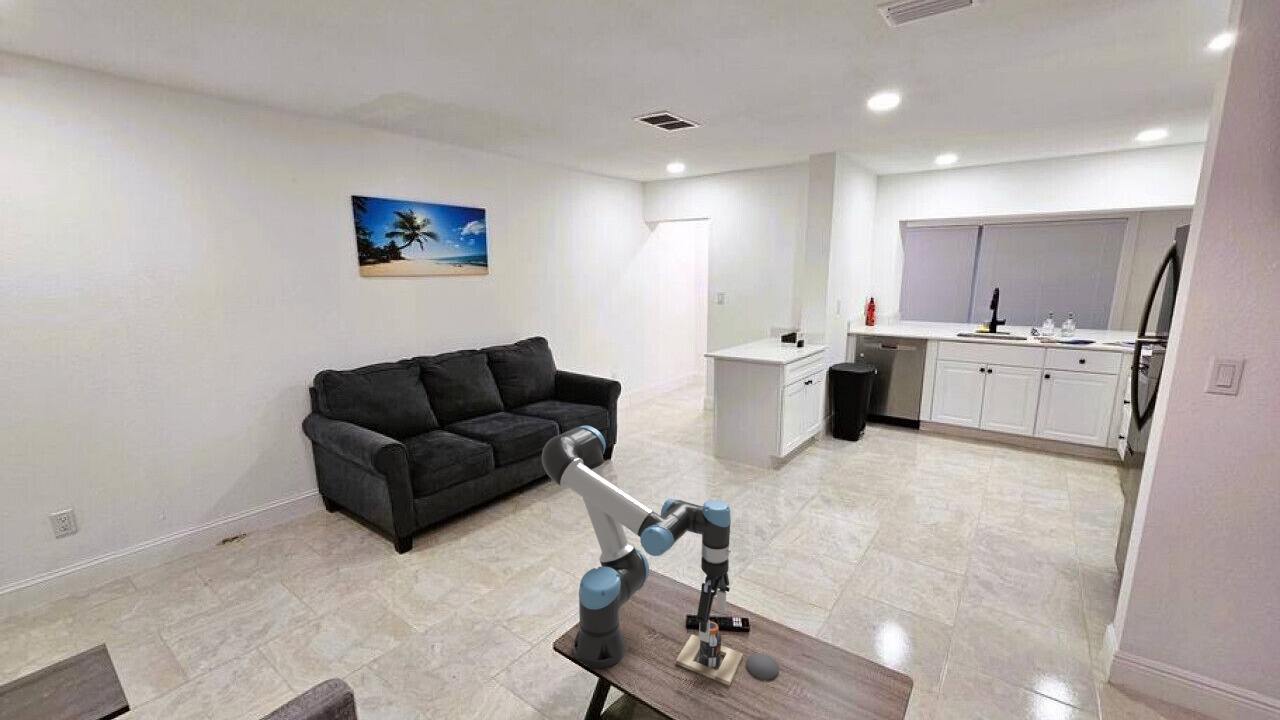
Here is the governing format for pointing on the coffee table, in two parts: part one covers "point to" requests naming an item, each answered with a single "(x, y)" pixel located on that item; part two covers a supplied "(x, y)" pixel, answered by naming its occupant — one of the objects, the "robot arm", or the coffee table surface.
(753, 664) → the grey river stone
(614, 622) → the robot arm
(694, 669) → the socket board
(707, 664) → the pill bottle
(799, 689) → the coffee table surface
